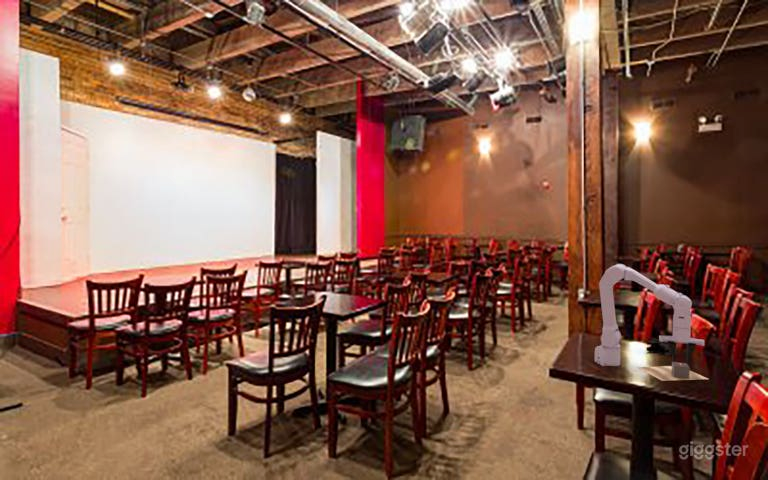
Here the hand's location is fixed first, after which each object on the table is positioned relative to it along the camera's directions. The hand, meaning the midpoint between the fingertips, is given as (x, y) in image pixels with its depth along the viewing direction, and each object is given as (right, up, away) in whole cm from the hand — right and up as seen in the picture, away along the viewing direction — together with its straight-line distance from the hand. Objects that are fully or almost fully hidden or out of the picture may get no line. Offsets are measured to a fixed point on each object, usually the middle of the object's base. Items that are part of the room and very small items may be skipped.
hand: (680, 361), depth 169 cm
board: (-1, -7, +4) cm, 8 cm away
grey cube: (0, -6, 0) cm, 6 cm away
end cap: (+12, -6, +30) cm, 33 cm away
